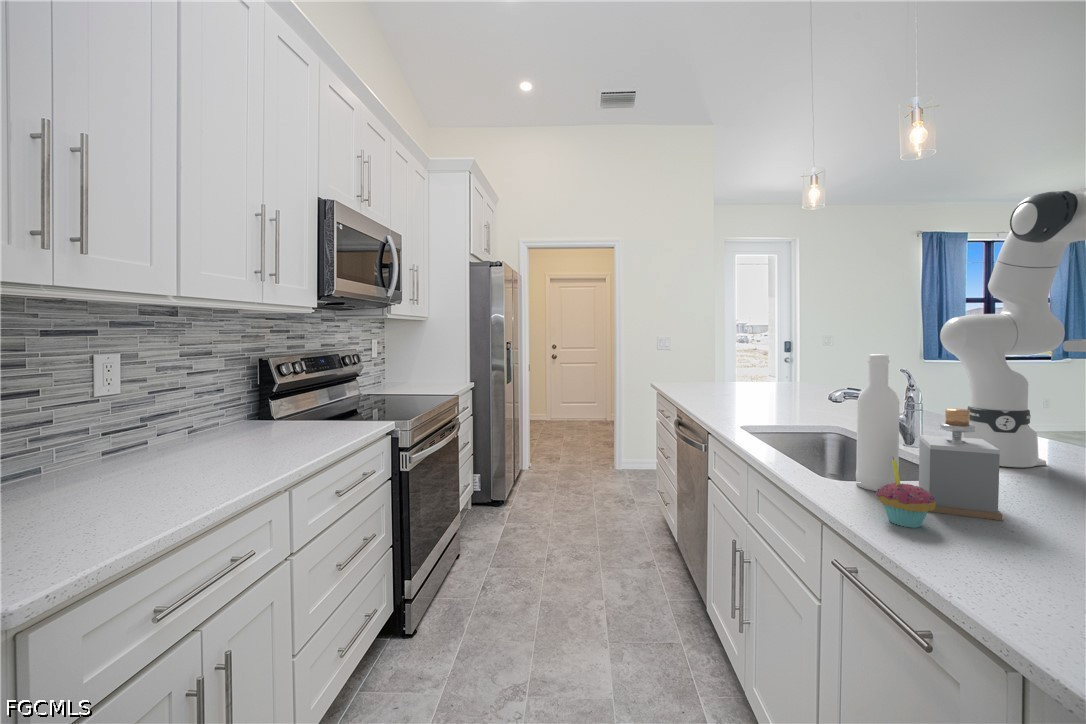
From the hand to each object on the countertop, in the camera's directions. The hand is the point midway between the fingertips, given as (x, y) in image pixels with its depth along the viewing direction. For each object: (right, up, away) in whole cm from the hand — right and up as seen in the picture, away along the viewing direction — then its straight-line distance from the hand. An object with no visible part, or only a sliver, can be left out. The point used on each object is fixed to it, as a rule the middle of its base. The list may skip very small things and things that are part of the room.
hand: (1065, 345), depth 84 cm
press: (-11, -32, +10) cm, 35 cm away
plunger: (-11, -30, +10) cm, 34 cm away
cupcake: (-26, -33, +3) cm, 42 cm away
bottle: (-17, -31, +23) cm, 43 cm away
